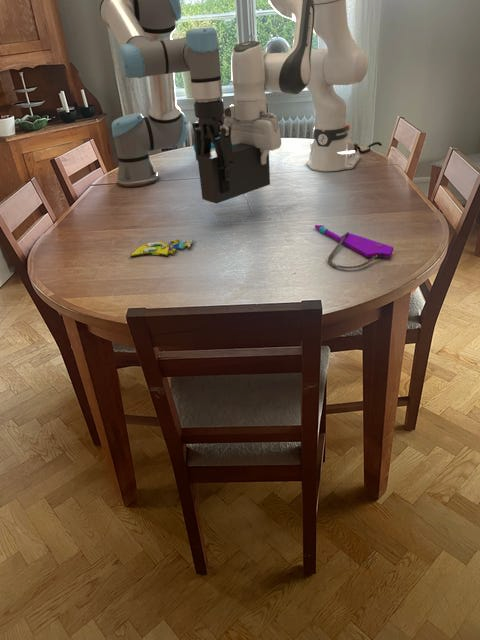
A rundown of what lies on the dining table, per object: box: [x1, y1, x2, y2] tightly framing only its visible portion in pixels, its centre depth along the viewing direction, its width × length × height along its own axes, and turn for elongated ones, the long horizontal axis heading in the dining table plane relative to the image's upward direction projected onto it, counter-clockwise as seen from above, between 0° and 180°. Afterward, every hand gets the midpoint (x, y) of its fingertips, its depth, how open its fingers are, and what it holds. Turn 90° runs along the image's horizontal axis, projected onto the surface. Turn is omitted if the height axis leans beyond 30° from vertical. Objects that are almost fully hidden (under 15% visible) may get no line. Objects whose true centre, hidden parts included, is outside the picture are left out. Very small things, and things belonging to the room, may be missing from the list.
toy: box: [130, 238, 194, 258], centre depth 128 cm, size 10×1×15 cm
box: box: [197, 143, 271, 204], centre depth 135 cm, size 20×6×12 cm, turn 131°
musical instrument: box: [314, 224, 394, 269], centre depth 119 cm, size 24×2×20 cm
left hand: (217, 189), depth 134 cm, fingers closed on box, 6 cm apart
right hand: (253, 161), depth 138 cm, fingers closed on box, 6 cm apart
